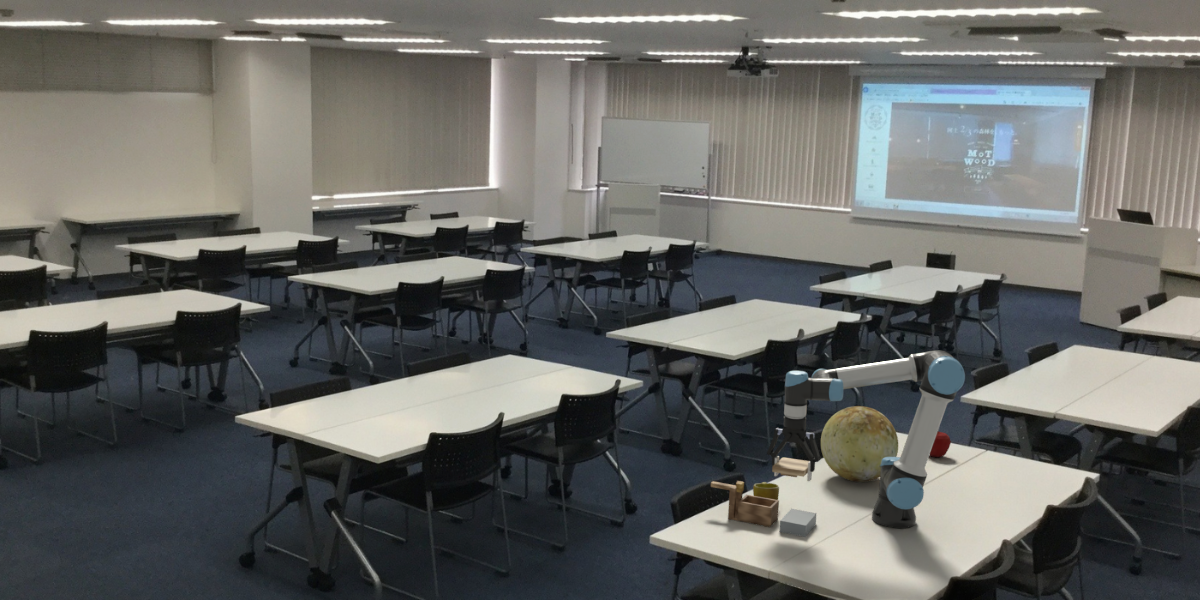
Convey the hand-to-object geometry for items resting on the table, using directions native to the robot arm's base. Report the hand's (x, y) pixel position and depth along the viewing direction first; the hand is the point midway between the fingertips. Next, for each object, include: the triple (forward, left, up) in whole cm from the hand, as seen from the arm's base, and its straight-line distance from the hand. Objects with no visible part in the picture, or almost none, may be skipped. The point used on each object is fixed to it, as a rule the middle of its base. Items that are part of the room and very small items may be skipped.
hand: (792, 477), depth 360 cm
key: (+24, 0, -8) cm, 25 cm away
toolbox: (+13, 0, -18) cm, 22 cm away
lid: (0, 0, +3) cm, 3 cm away
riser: (-3, 0, -18) cm, 18 cm away
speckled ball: (-9, -65, -18) cm, 68 cm away
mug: (+14, -17, -18) cm, 28 cm away
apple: (-32, -117, -18) cm, 122 cm away
